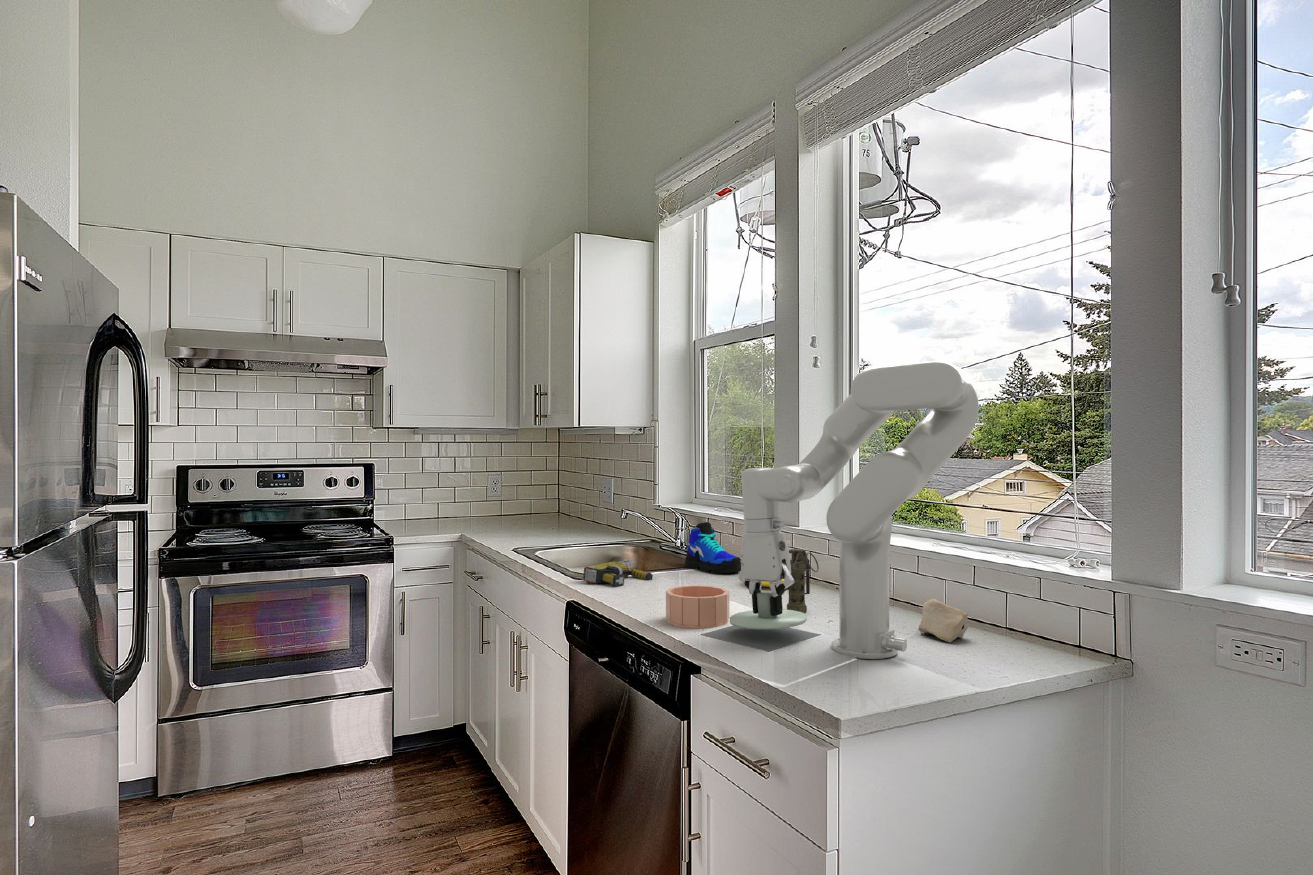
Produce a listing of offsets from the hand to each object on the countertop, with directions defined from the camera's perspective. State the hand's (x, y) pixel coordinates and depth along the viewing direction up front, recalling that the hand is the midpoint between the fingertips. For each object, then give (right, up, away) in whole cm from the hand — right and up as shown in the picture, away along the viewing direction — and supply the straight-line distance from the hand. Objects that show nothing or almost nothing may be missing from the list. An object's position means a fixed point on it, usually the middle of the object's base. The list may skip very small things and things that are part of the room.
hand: (767, 612), depth 164 cm
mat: (-1, -5, +1) cm, 6 cm away
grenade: (+12, -5, +23) cm, 27 cm away
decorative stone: (+37, -6, +1) cm, 37 cm away
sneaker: (-6, -5, +81) cm, 82 cm away
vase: (+10, -5, +57) cm, 58 cm away
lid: (0, -2, 0) cm, 2 cm away
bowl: (-14, -5, +14) cm, 20 cm away
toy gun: (-33, -6, +66) cm, 74 cm away
